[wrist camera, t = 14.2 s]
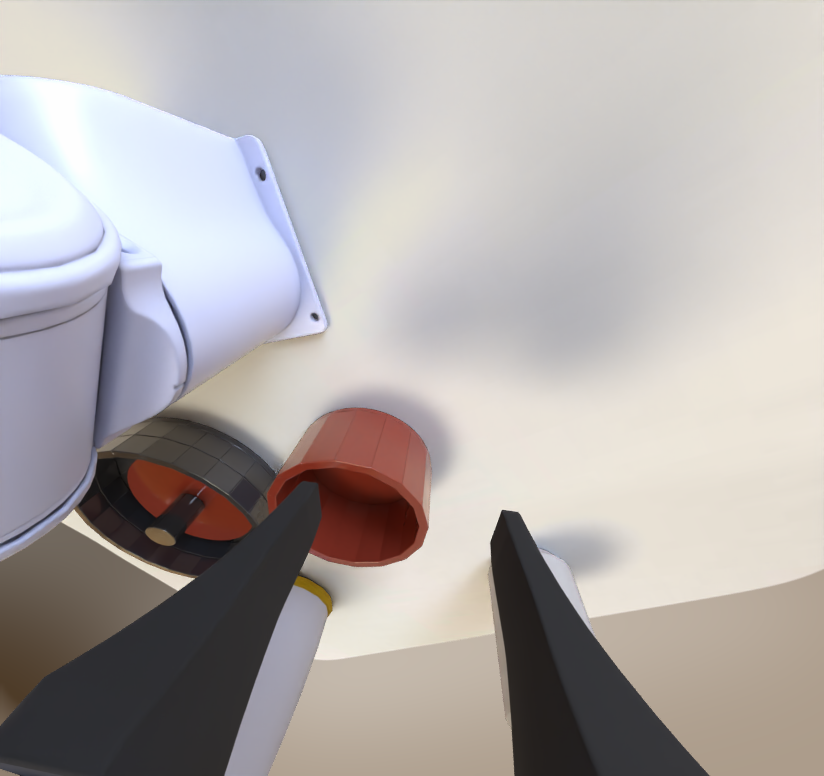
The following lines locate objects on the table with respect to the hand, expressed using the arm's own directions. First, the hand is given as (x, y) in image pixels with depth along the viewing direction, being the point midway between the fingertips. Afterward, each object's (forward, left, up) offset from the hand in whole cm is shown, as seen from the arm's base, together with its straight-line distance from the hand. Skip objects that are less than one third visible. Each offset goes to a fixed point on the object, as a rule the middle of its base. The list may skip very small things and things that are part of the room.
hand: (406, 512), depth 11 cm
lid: (+7, -22, -8) cm, 25 cm away
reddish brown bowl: (+6, -6, -9) cm, 12 cm away
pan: (+7, -22, -9) cm, 25 cm away
